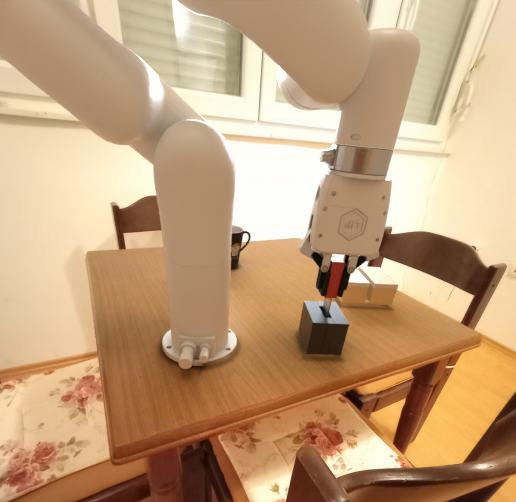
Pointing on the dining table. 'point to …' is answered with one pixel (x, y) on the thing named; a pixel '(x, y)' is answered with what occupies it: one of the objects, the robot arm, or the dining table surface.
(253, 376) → the dining table surface
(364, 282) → the beige rectangular box
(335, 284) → the knife
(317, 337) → the knife block
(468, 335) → the dining table surface
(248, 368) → the dining table surface
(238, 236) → the coffee mug
